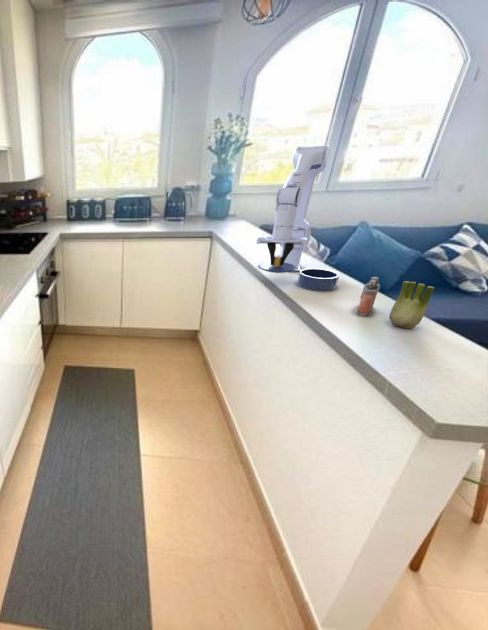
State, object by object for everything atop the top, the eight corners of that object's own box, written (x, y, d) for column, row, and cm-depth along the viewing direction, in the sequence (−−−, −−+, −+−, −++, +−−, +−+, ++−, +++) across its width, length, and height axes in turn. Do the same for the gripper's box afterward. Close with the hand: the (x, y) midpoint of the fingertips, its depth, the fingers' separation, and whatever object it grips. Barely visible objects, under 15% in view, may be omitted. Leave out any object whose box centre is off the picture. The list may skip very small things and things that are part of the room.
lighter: (359, 305, 102) (369, 273, 98) (374, 308, 100) (384, 275, 96) (354, 314, 97) (364, 281, 93) (369, 317, 95) (380, 283, 91)
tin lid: (256, 263, 128) (258, 251, 126) (293, 265, 123) (295, 252, 121) (257, 272, 119) (259, 260, 117) (296, 275, 114) (299, 261, 112)
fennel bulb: (421, 330, 87) (439, 286, 82) (401, 331, 87) (417, 287, 82) (401, 320, 92) (417, 278, 87) (382, 321, 92) (397, 279, 87)
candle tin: (295, 279, 125) (298, 267, 123) (332, 281, 121) (335, 269, 119) (299, 289, 116) (302, 277, 115) (338, 292, 112) (341, 279, 110)
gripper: (259, 227, 114) (253, 266, 120) (311, 227, 108) (302, 269, 114) (259, 223, 120) (253, 260, 126) (308, 223, 114) (299, 263, 120)
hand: (276, 264), depth 120 cm, fingers closed on tin lid, 2 cm apart
